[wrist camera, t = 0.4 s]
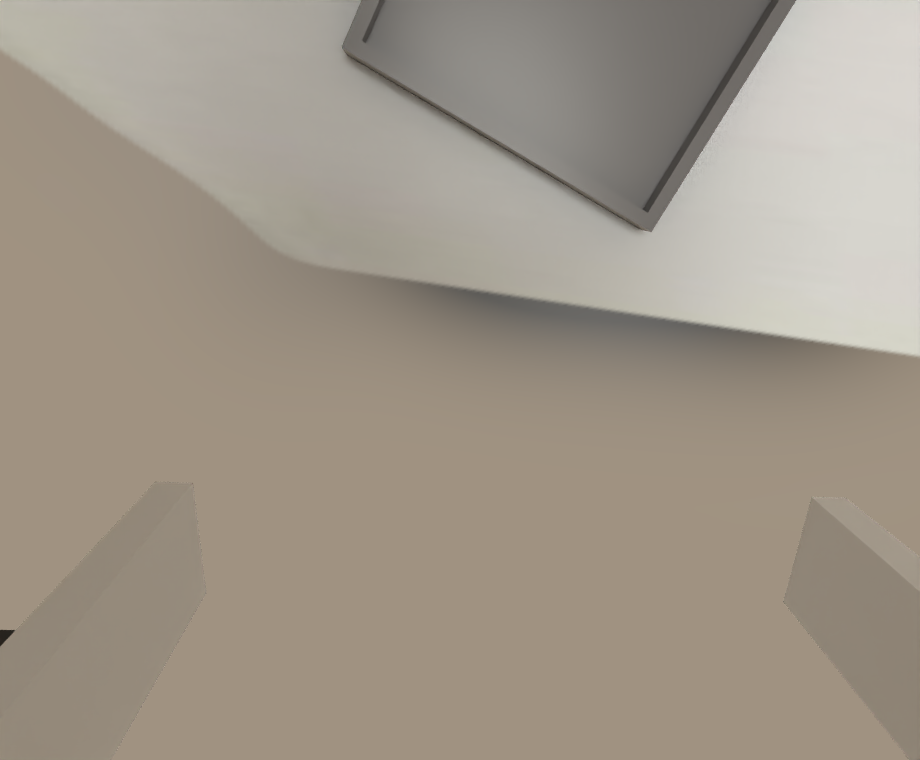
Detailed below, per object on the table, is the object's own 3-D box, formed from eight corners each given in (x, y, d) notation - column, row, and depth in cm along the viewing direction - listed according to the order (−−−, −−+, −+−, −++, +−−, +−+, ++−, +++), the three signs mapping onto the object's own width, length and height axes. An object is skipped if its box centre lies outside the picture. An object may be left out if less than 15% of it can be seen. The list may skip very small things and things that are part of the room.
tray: (347, 55, 33) (341, 47, 31) (486, -268, 29) (489, -299, 27) (640, 229, 36) (651, 232, 35) (803, -35, 32) (826, -48, 30)
